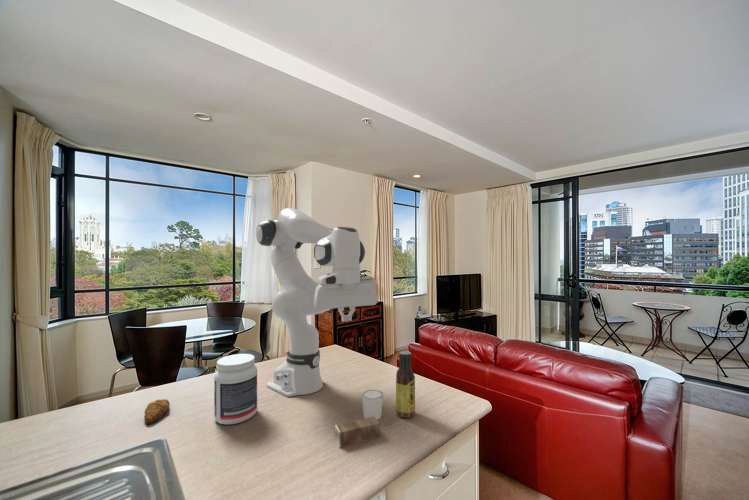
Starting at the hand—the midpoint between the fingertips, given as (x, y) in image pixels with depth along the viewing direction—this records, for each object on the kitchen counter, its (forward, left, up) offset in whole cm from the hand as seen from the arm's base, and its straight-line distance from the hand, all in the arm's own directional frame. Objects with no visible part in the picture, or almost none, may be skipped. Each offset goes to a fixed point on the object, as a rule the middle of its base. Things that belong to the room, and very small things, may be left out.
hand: (346, 321), depth 98 cm
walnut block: (+4, -11, -29) cm, 32 cm away
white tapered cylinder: (+6, +6, -31) cm, 32 cm away
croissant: (-57, -27, -32) cm, 70 cm away
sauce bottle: (+15, +12, -31) cm, 37 cm away
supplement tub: (-33, -15, -31) cm, 48 cm away
